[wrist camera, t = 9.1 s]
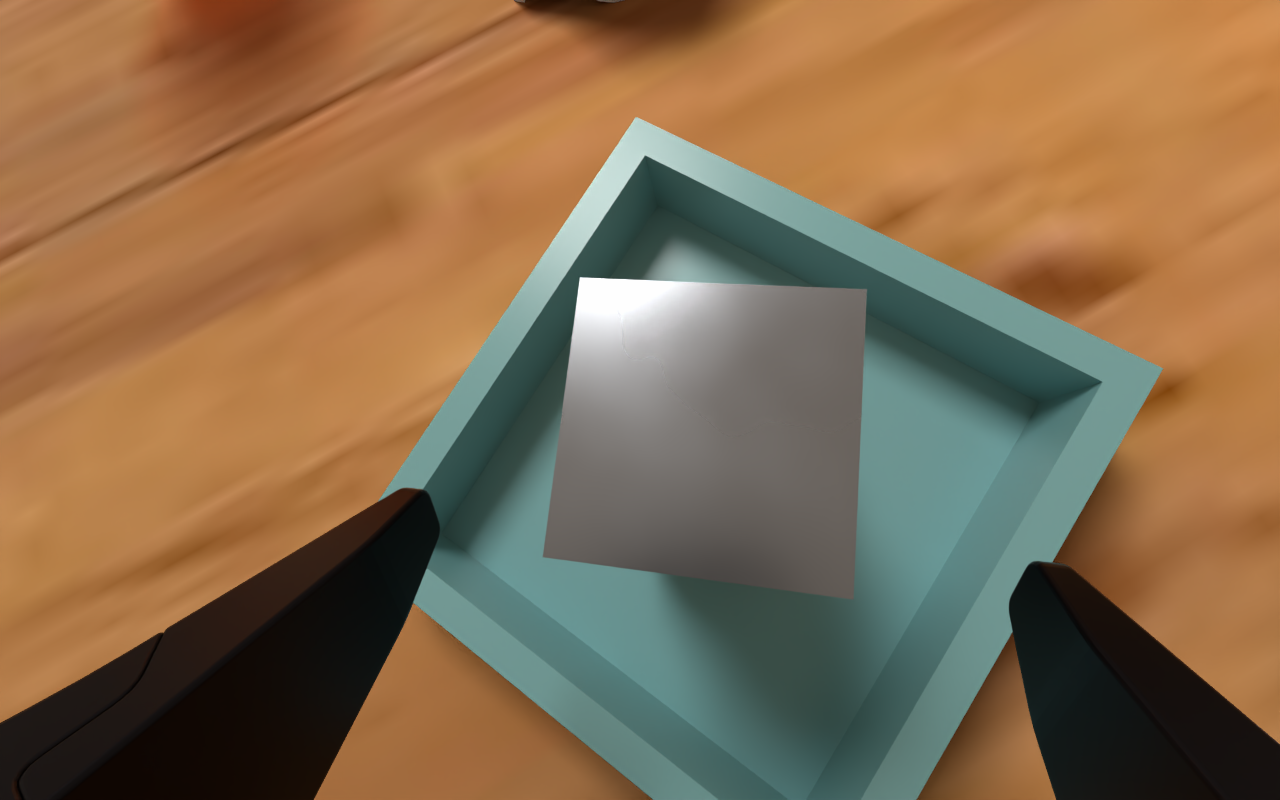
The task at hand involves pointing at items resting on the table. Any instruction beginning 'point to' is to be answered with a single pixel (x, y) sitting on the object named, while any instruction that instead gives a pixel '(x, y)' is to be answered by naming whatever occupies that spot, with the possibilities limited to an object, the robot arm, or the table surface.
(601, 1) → the magnetic glass cleaner
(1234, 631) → the table surface
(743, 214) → the bin
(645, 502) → the strut
